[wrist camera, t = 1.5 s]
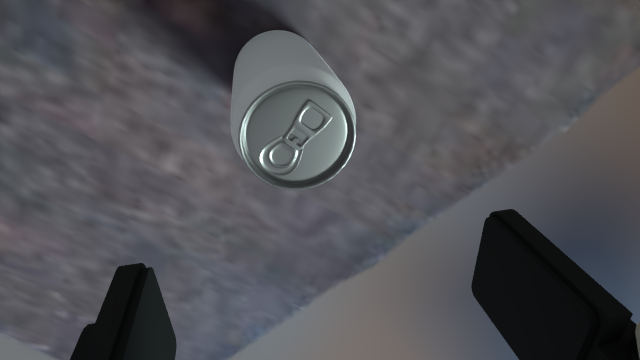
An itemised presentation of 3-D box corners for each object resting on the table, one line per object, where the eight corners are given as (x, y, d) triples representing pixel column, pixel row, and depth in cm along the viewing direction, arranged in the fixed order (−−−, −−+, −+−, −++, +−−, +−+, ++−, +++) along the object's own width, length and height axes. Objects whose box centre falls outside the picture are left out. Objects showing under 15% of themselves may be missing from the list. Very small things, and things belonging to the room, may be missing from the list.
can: (215, 83, 28) (200, 154, 18) (269, 7, 26) (286, 39, 16) (286, 132, 31) (308, 218, 21) (338, 67, 29) (391, 125, 19)
